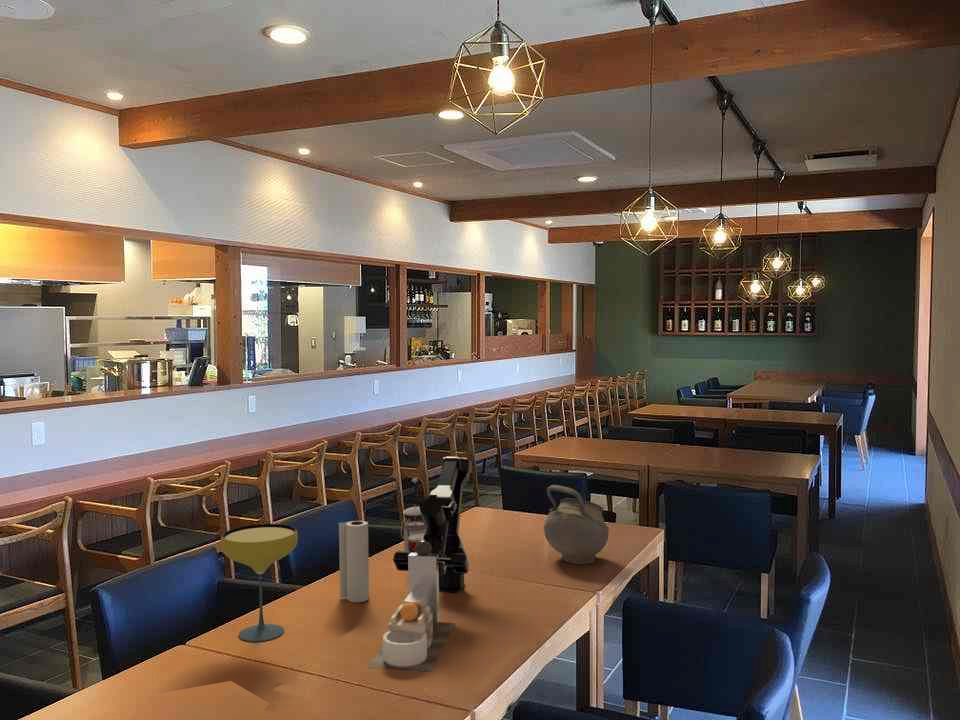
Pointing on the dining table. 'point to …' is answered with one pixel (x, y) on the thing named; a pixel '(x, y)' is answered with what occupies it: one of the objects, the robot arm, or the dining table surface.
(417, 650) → the cup
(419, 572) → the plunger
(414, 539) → the canned food
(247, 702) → the dining table surface
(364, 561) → the paper towel roll
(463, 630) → the dining table surface
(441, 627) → the launcher
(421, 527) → the french press
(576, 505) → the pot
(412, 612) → the ball
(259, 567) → the cocktail glass
